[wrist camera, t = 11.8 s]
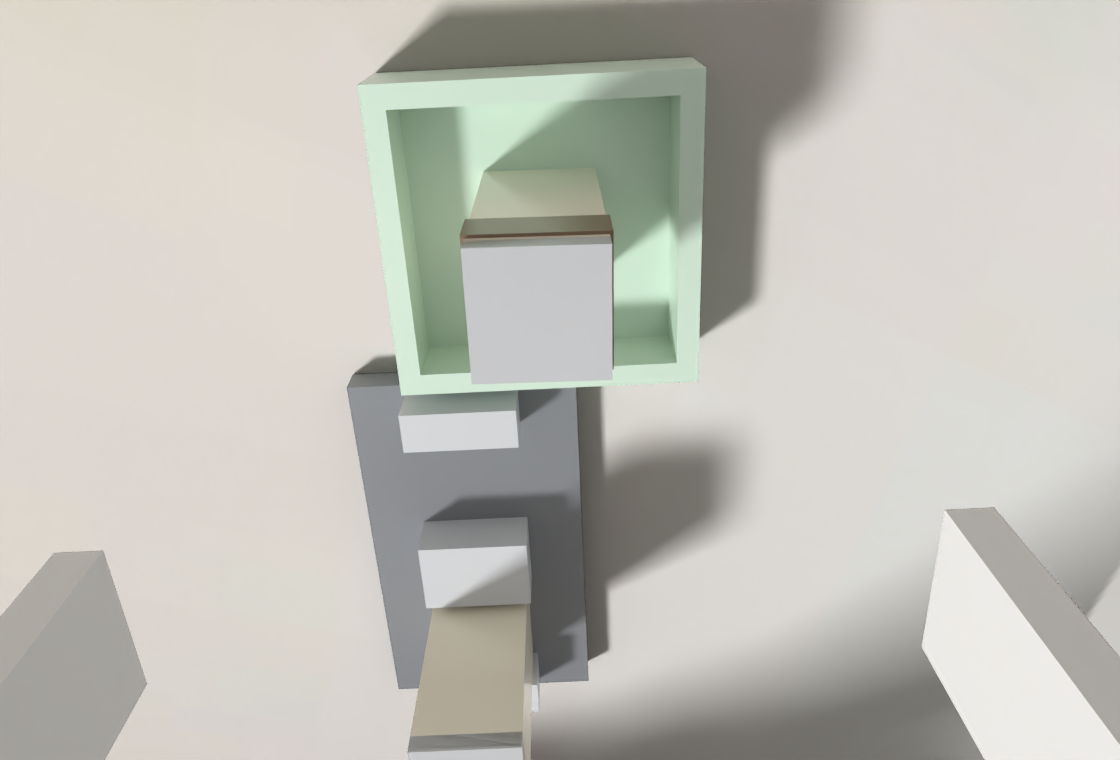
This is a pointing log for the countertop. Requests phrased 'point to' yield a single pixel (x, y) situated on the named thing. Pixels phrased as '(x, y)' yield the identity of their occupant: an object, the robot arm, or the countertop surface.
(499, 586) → the block
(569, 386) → the tray
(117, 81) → the countertop surface
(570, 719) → the countertop surface
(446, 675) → the block
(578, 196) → the block
